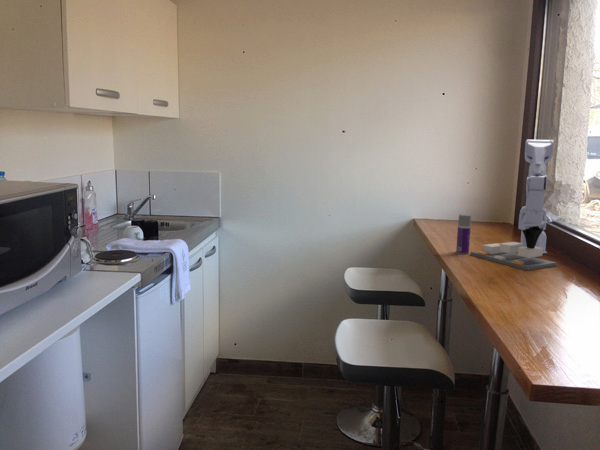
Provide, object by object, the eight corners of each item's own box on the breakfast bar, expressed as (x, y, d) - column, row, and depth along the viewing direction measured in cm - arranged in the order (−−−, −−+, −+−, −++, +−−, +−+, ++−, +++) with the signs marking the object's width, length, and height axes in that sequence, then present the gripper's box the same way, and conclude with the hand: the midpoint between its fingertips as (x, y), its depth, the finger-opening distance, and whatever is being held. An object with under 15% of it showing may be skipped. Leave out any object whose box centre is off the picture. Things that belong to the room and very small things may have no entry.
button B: (513, 249, 199) (514, 241, 198) (523, 251, 195) (524, 243, 195) (499, 250, 195) (500, 243, 195) (509, 253, 192) (509, 245, 191)
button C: (531, 253, 192) (532, 245, 192) (542, 255, 188) (543, 248, 188) (517, 255, 188) (518, 247, 188) (528, 257, 185) (528, 250, 184)
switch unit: (497, 251, 211) (497, 246, 211) (556, 265, 188) (556, 260, 188) (470, 255, 204) (470, 249, 203) (527, 270, 181) (528, 264, 181)
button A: (495, 250, 206) (496, 243, 206) (505, 252, 202) (505, 245, 202) (482, 252, 203) (482, 244, 202) (491, 254, 199) (491, 247, 198)
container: (469, 254, 204) (472, 216, 202) (456, 253, 205) (459, 215, 203) (468, 252, 209) (470, 214, 206) (455, 251, 210) (458, 213, 207)
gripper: (534, 207, 193) (531, 243, 195) (511, 210, 185) (508, 248, 187) (553, 209, 187) (549, 247, 190) (531, 212, 179) (527, 251, 181)
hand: (530, 248), depth 188 cm, fingers closed, pressing on button C
